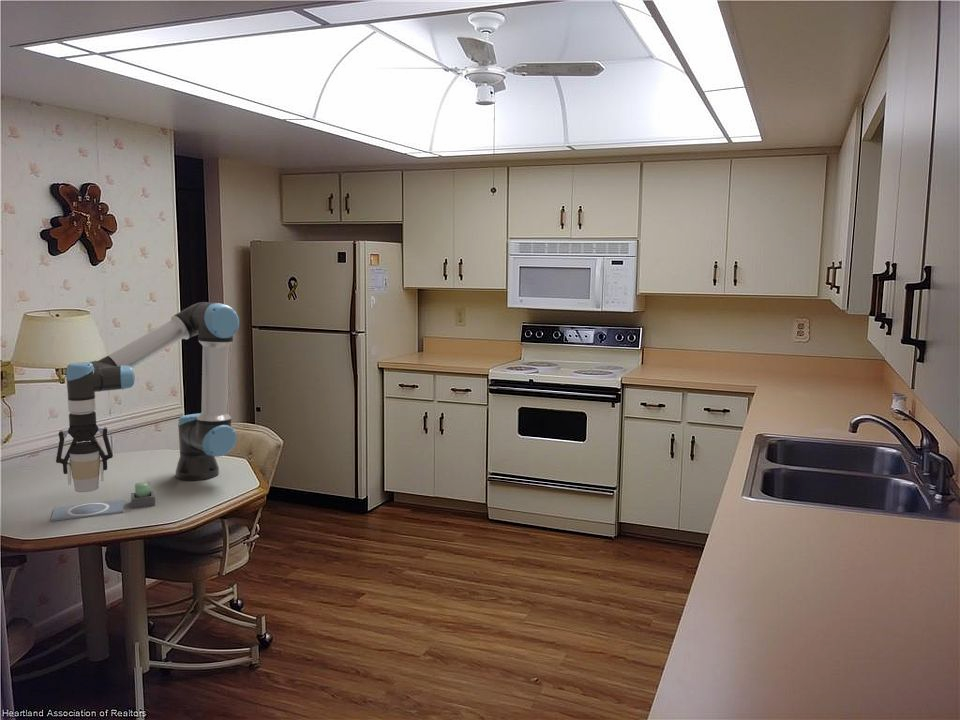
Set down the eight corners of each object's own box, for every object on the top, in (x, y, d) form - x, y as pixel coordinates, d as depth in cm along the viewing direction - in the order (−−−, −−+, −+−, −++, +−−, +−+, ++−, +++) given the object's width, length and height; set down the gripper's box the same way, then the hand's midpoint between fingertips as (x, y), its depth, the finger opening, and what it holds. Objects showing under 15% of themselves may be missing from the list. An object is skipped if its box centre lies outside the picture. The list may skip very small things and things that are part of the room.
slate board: (123, 501, 250) (123, 499, 250) (123, 512, 239) (122, 510, 239) (54, 509, 241) (54, 507, 241) (51, 521, 230) (50, 519, 230)
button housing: (154, 499, 252) (154, 490, 252) (155, 505, 246) (154, 496, 246) (131, 501, 249) (131, 493, 249) (131, 508, 243) (131, 499, 243)
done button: (149, 493, 250) (149, 481, 250) (150, 497, 246) (149, 485, 246) (135, 494, 248) (134, 483, 248) (135, 498, 244) (134, 486, 244)
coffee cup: (67, 494, 233) (64, 447, 231) (74, 485, 242) (71, 440, 240) (99, 492, 236) (96, 445, 234) (105, 483, 244) (102, 438, 242)
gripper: (120, 407, 243) (123, 475, 246) (44, 412, 234) (48, 482, 237) (119, 411, 237) (123, 481, 240) (41, 417, 228) (46, 489, 231)
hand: (86, 481), depth 239 cm, fingers closed on coffee cup, 8 cm apart
